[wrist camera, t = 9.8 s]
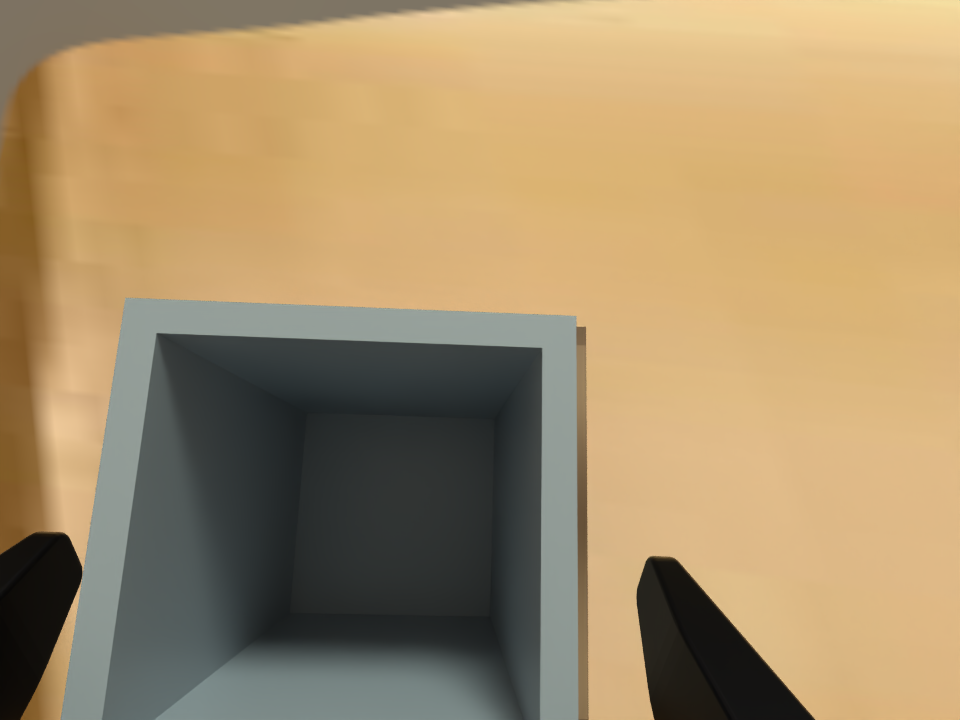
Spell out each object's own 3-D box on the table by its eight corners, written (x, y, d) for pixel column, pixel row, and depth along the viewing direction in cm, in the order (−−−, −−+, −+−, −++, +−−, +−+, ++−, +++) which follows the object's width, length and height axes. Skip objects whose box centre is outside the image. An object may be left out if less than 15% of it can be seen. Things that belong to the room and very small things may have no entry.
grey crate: (505, 631, 17) (579, 814, 8) (275, 627, 17) (45, 812, 7) (509, 405, 19) (576, 315, 9) (296, 398, 18) (125, 297, 9)
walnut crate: (558, 687, 18) (588, 743, 14) (215, 682, 18) (149, 737, 14) (558, 358, 20) (585, 326, 16) (252, 346, 20) (203, 310, 16)
